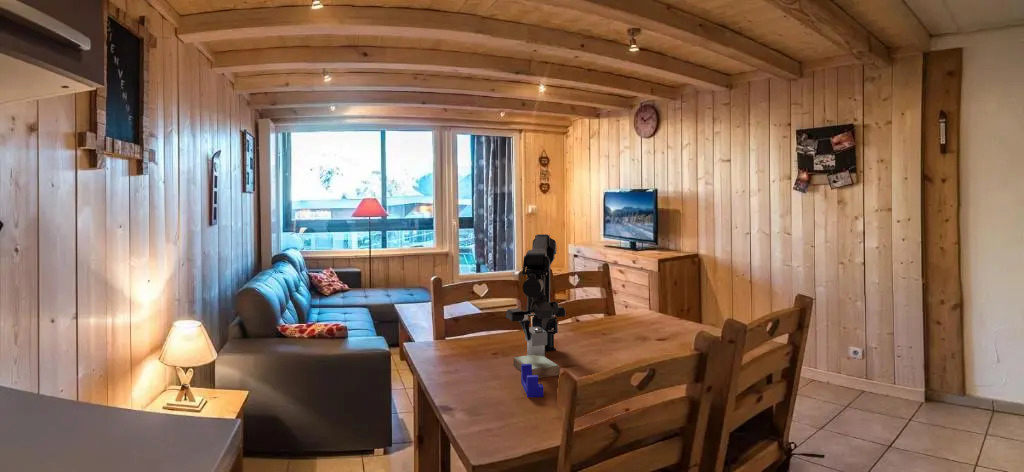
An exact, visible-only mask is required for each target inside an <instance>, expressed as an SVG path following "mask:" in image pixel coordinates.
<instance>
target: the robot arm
mask: <svg viewBox="0 0 1024 472" xmlns="http://www.w3.org/2000/svg"><path fill="white" fill-rule="evenodd" d="M557 248H558V247H557V242H556V240H555V239H553V238H552V237H551V236H550V234H542V233H541V234H540V233H539V234H535V236H534V239H533V240H532V247H531V249H529V250H528V251H526V253H525V255H524V256H523V262H522V263H523V265H522V270H521V271H522V273H521V274H522V276H526V280H525V281H524V282H523V283H522V292H523V293H524V294H525V297H526V299H527V300H526V304H527V305H525V310H522V309H520V308H510V309H509V308H508V309H507V310H506V312H505V313H506V314H505V317H506V319H508V320H510V321H511V322H519V324H520V326H521V329H522V330H523V333H524V337H525V336H526V338H527V340H529V338H530V333H529V327H530V324H531V327H541V328H542V329H543V330H545V331H546V332H547V345H545V352H548V351H555V350H557V348H556V347H555V335H556V334H558V332H559V331H558V330H559V329H558V328H559V327H558V325H559V324H558V320H557V319H558V318H561V317H566V316H567V315H566V314H567V313H566V309H565V307H563V306H561V305H559V302H557V301H551V265H552V264H553V262H554V260H555V258H556V256H555V255H557V251H558V249H557ZM529 317H532V319H531V320H530V319H529Z"/></svg>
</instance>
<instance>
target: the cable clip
mask: <svg viewBox="0 0 1024 472" xmlns="http://www.w3.org/2000/svg"><path fill="white" fill-rule="evenodd" d="M520 380H521V381H520V382H521V385H522V387H523V390H524V392H526V393H525V395H526V394H527V395H526V398H528V397H530V398H543V397H544V385H543V384H542V383H539V378H538V375H532V364H521V371H520Z"/></svg>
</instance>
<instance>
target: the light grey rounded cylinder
mask: <svg viewBox="0 0 1024 472" xmlns="http://www.w3.org/2000/svg"><path fill="white" fill-rule="evenodd" d="M526 342H527V341H526ZM526 348H527V349H526V350H527V351H526V352H527V354H526V356H528V355H536V354H541V355H543V356H544V357H546V354H545V353H546V351H545V345H541V346H531V345H530V344H529V343H528V342H527V344H526Z"/></svg>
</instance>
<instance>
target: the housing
mask: <svg viewBox="0 0 1024 472" xmlns="http://www.w3.org/2000/svg"><path fill="white" fill-rule="evenodd" d="M529 333H530V338H529V340H527V338H526V336H525V335H524V340H525V341H526V342H528V343H529V344H530V345H531V346H541V345H547V332H546V331H545V330H543V329H542V328H541V327H532V326H529Z"/></svg>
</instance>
